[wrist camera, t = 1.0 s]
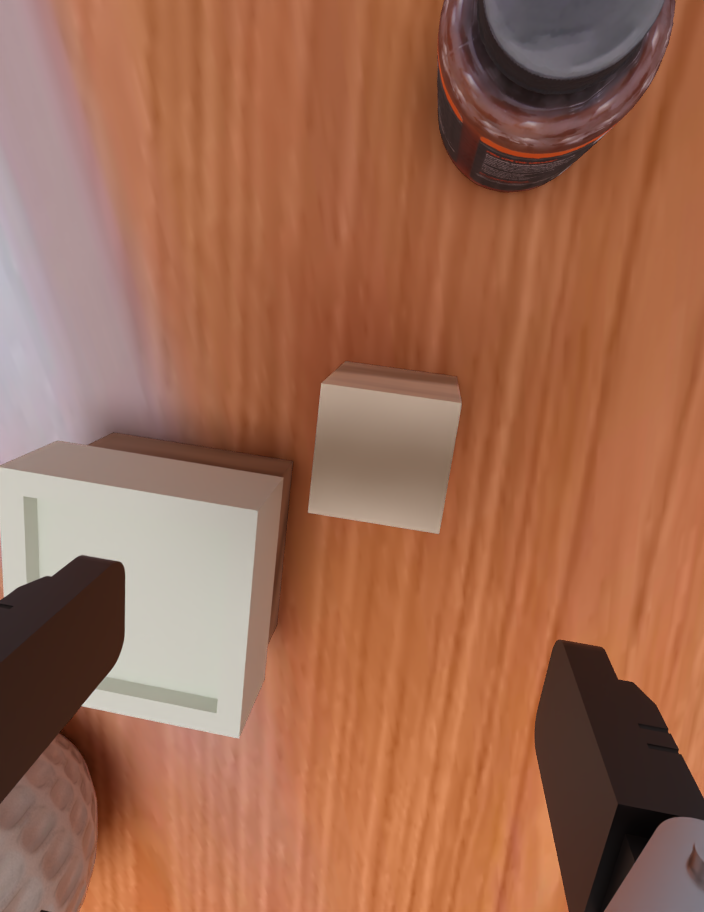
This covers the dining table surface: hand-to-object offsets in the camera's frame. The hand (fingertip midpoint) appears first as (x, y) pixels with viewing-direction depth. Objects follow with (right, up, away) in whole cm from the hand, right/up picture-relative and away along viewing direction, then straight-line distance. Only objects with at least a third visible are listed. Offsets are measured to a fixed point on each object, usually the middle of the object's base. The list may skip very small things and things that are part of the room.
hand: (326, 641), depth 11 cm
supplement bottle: (+7, +17, +13) cm, 22 cm away
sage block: (-8, -1, +16) cm, 18 cm away
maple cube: (+2, +5, +17) cm, 18 cm away
